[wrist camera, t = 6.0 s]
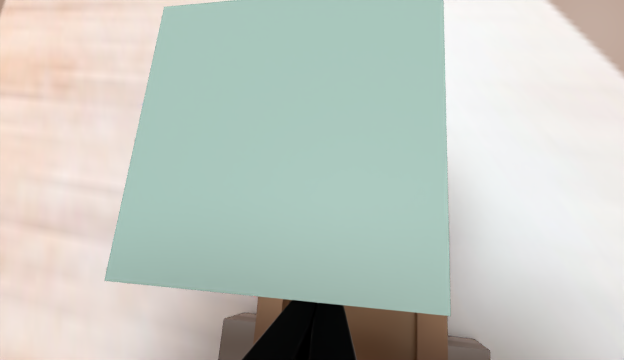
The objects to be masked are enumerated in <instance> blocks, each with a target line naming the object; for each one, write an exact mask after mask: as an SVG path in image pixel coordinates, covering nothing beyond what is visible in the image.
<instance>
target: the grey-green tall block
mask: <svg viewBox="0 0 624 360" xmlns="http://www.w3.org/2000/svg"><path fill="white" fill-rule="evenodd" d="M104 281H113V282H122V283H132V284H142V285H152V286H161V287H171V288H181V289H191V290H200V291H210V292H220V293H230V294H239V295H249V296H259V297H269V298H278V299H288V300H298V301H308V302H318V303H327V304H337V305H347V306H357V307H366V308H376V309H386V310H396V311H405V312H415V313H425V314H435V315H444V316H451V308H450V265H449V221H448V178H447V135H446V91H445V48H444V5H443V0H233V1H222V2H212V3H201V4H190V5H180V6H169V7H164V10H163V15H162V19H161V24H160V29H159V33H158V38H157V42H156V47H155V51H154V56H153V61H152V65H151V70H150V74H149V79H148V83H147V88H146V93H145V97H144V102H143V106H142V111H141V115H140V120H139V125H138V129H137V134H136V138H135V143H134V147H133V152H132V157H131V161H130V166H129V170H128V175H127V180H126V184H125V189H124V193H123V198H122V202H121V207H120V212H119V216H118V221H117V225H116V230H115V234H114V239H113V244H112V248H111V253H110V257H109V262H108V266H107V271H106V276H105V280H104Z"/></svg>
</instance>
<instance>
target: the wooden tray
mask: <svg viewBox="0 0 624 360" xmlns="http://www.w3.org/2000/svg"><path fill="white" fill-rule="evenodd" d="M290 302H291V300H288V299H278V298H269V297H259V296H258V305H257V314H250V313H241V314H238V315H234V316H231V317H228V318H225V319H224V321H223V329H222V336H221V344H220V351H219V359H218V360H241V359H242V358H243V357H244V356H245V354H246V353H247V352H248V351H249V350H250V349H251V347H252V346H253V345H254V344H255V343H256V341H257V340H258V339H259V338H260V337H261V336H262V334H263V333H264V332H265V331H266V330H267V329H268V327H269V326H270V325H271V324H272V323H273V321H274V320H275V319H276V318H277V317H278V316H279V314H280V313H281V312H282V311H283V310H284V309H285V307H286V306H287V305H288V304H289V303H290ZM344 309H345V313H346V317H347V321H348V325H349V329H350V333H351V337H352V341H353V345H354V350H355V354H356V358H357V360H490V350H488V349H487V348H486V347H484V346H483V345H482V344H480V343H479V342H478V341H476V340H475V339H469V338H460V337H452V336H448V334H447V316H444V315H435V314H425V313H415V312H405V311H396V310H386V309H376V308H366V307H357V306H347V305H344Z"/></svg>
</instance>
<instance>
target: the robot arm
mask: <svg viewBox="0 0 624 360" xmlns="http://www.w3.org/2000/svg"><path fill="white" fill-rule="evenodd" d="M241 360H357V358H356V354H355V350H354V345H353V341H352V337H351V333H350V329H349V325H348V321H347V317H346V313H345V309H344V305H337V304H327V303H318V302H308V301H298V300H291V302H290V303H289V304H288V305H287V306H286V307H285V309H284V310H283V311H282V312H281V313H280V314H279V316H278V317H277V318H276V319H275V320H274V321H273V323H272V324H271V325H270V326H269V327H268V329H267V330H266V331H265V332H264V333H263V334H262V336H261V337H260V338H259V339H258V340H257V341H256V343H255V344H254V345H253V346H252V347H251V349H250V350H249V351H248V352H247V353H246V354H245V356H244V357H243V358H242V359H241Z"/></svg>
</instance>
